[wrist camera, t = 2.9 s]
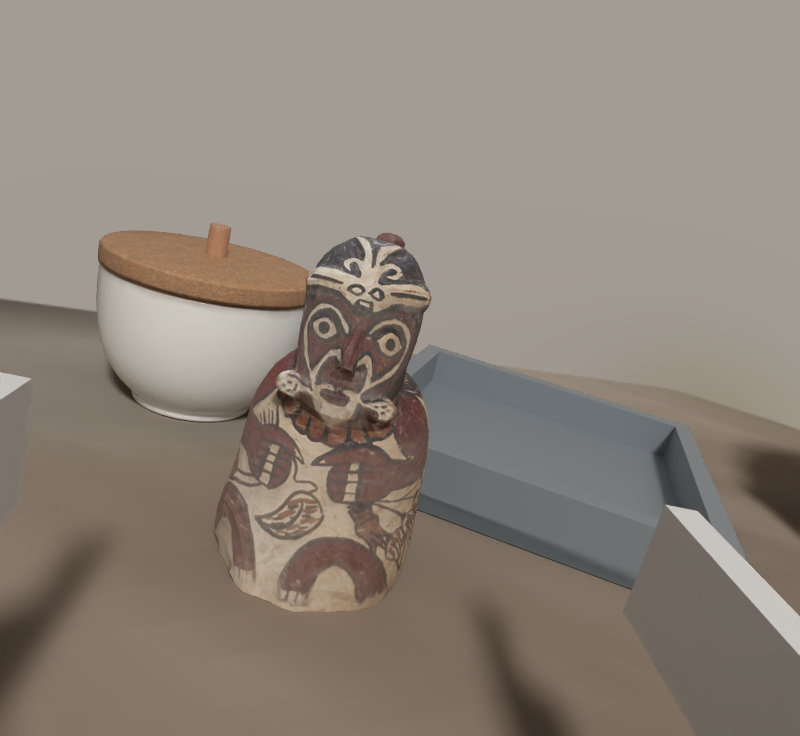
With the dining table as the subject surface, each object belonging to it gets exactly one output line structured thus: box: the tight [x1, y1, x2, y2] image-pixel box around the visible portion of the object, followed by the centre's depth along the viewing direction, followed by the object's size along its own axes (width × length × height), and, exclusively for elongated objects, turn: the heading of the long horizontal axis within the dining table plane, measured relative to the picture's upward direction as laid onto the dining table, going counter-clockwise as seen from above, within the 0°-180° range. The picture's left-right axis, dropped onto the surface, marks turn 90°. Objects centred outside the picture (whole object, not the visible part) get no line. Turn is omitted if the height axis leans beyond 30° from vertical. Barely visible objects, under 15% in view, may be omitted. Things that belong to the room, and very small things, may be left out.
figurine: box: [215, 232, 431, 612], centre depth 24 cm, size 7×7×12 cm
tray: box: [406, 345, 747, 589], centre depth 37 cm, size 18×18×3 cm
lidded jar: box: [96, 223, 310, 422], centre depth 35 cm, size 11×11×9 cm
